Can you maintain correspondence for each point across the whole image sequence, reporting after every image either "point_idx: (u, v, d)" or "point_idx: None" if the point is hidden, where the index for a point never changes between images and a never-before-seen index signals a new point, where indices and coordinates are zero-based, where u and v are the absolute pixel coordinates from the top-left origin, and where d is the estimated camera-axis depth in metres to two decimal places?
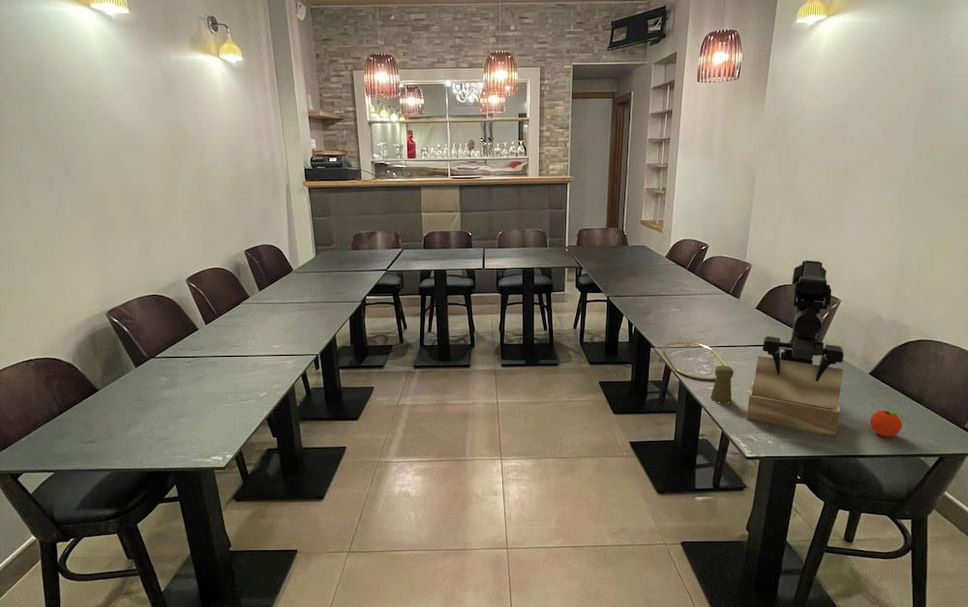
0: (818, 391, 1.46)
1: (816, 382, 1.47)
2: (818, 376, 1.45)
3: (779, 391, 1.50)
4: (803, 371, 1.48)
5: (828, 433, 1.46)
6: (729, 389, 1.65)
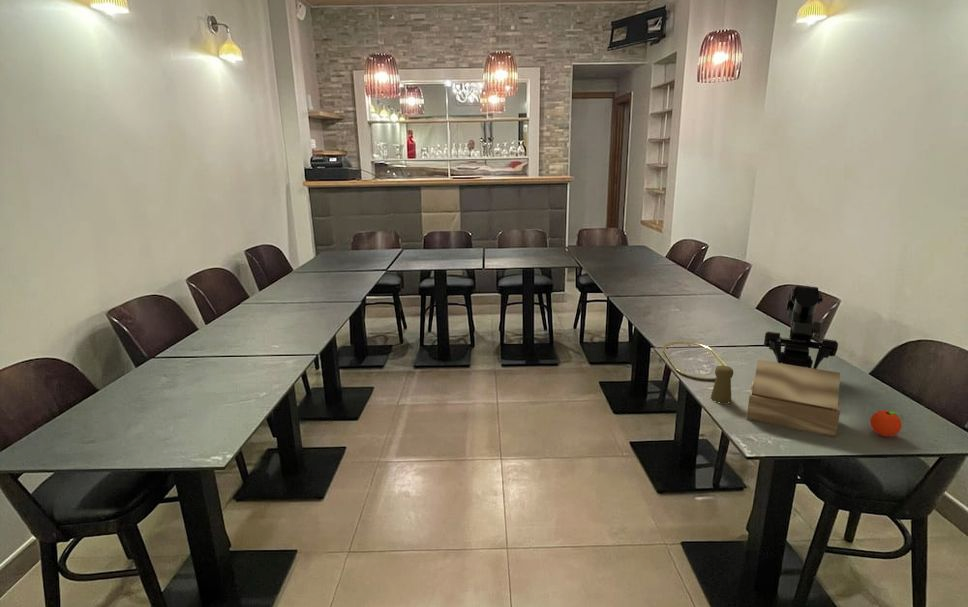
0: (817, 392, 1.48)
1: (815, 383, 1.49)
2: (815, 366, 1.55)
3: (779, 390, 1.51)
4: (802, 374, 1.52)
5: (828, 433, 1.46)
6: (729, 389, 1.65)
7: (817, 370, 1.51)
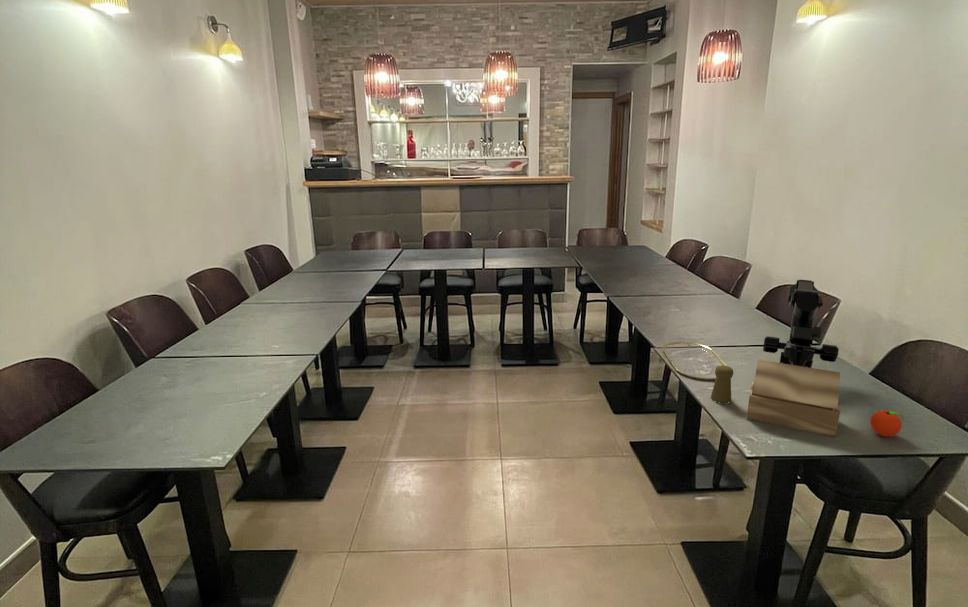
0: (817, 392, 1.48)
1: (815, 383, 1.49)
2: None
3: (779, 390, 1.51)
4: (802, 373, 1.52)
5: (828, 433, 1.46)
6: (729, 389, 1.65)
7: (817, 370, 1.51)
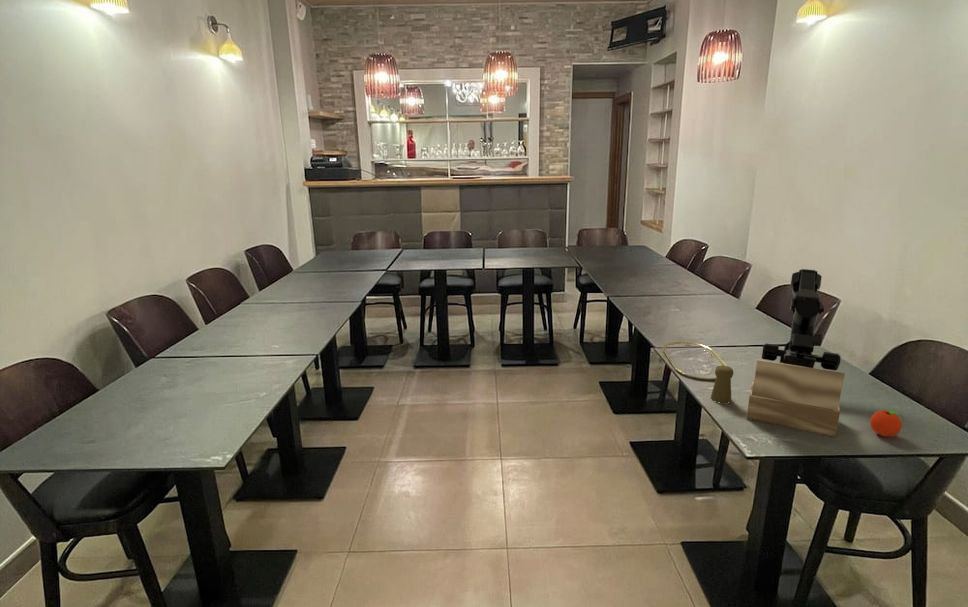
0: (818, 393, 1.45)
1: (816, 385, 1.44)
2: None
3: (779, 392, 1.50)
4: (803, 375, 1.45)
5: (828, 433, 1.46)
6: (729, 389, 1.65)
7: (820, 371, 1.43)
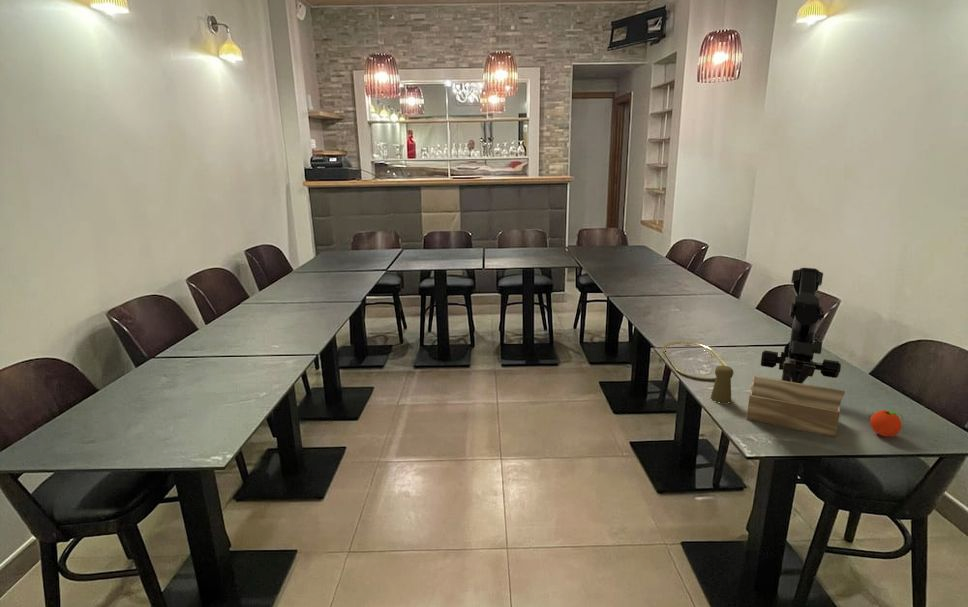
0: (818, 401, 1.43)
1: (816, 396, 1.42)
2: None
3: (779, 396, 1.49)
4: (802, 389, 1.42)
5: (828, 433, 1.46)
6: (729, 389, 1.65)
7: (819, 389, 1.38)
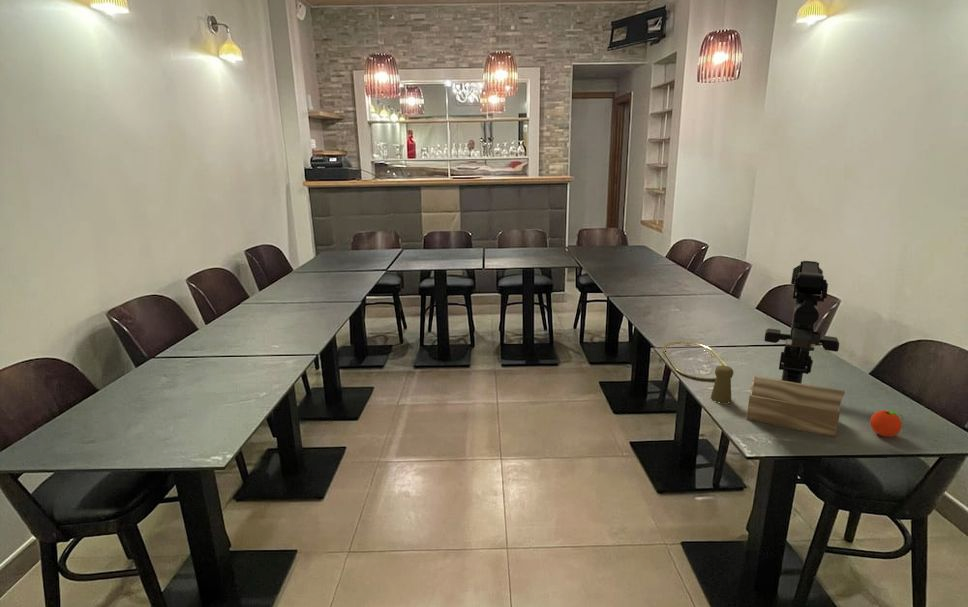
0: (818, 401, 1.43)
1: (816, 396, 1.42)
2: (798, 362, 1.58)
3: (779, 396, 1.49)
4: (802, 389, 1.42)
5: (828, 433, 1.46)
6: (729, 389, 1.65)
7: (819, 389, 1.38)
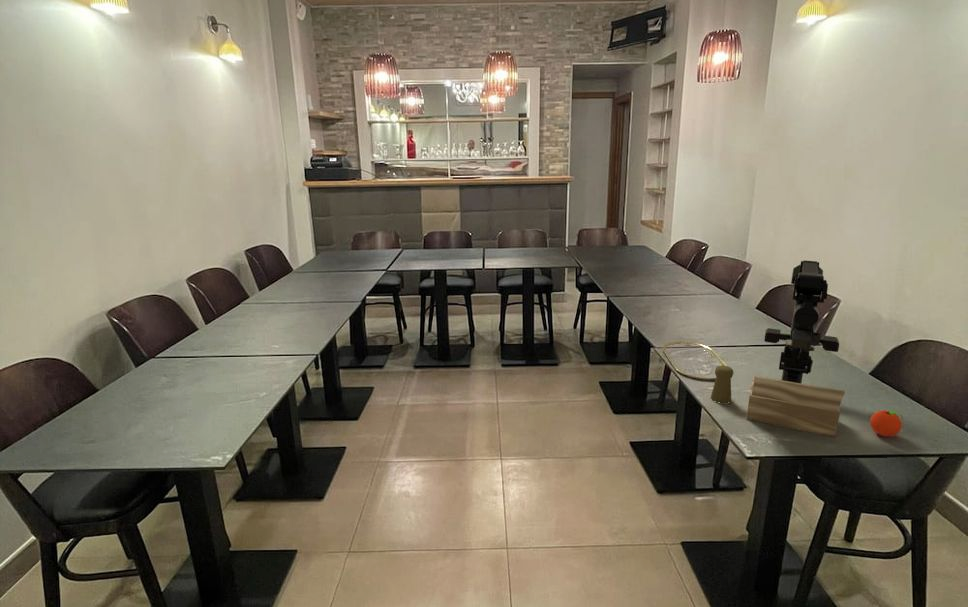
0: (818, 401, 1.43)
1: (816, 396, 1.42)
2: (798, 362, 1.58)
3: (779, 396, 1.49)
4: (802, 389, 1.42)
5: (828, 433, 1.46)
6: (729, 389, 1.65)
7: (819, 389, 1.38)
